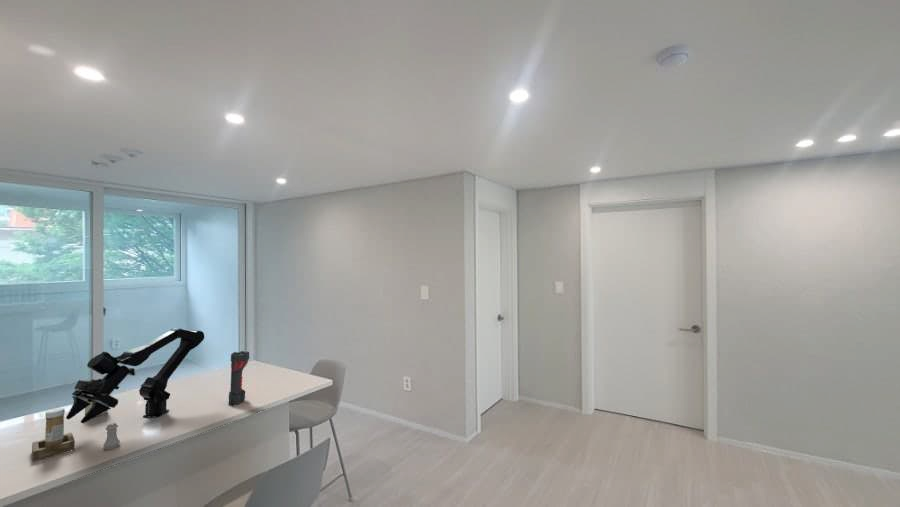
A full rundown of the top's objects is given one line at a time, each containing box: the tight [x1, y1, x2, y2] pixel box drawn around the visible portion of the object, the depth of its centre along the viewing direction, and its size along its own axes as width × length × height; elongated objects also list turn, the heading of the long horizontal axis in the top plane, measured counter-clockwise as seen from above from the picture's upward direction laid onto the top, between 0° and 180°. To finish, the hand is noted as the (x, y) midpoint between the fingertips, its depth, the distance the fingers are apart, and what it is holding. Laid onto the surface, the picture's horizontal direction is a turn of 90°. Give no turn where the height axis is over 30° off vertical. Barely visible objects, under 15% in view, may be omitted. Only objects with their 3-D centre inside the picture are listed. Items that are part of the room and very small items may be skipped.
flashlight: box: [228, 350, 250, 406], centre depth 171 cm, size 8×8×23 cm
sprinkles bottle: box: [44, 407, 66, 447], centre depth 127 cm, size 5×5×13 cm
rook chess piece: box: [102, 422, 121, 451], centre depth 129 cm, size 4×4×8 cm
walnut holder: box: [31, 432, 76, 462], centre depth 127 cm, size 10×10×3 cm
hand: (74, 420), depth 132 cm, fingers open, 9 cm apart
